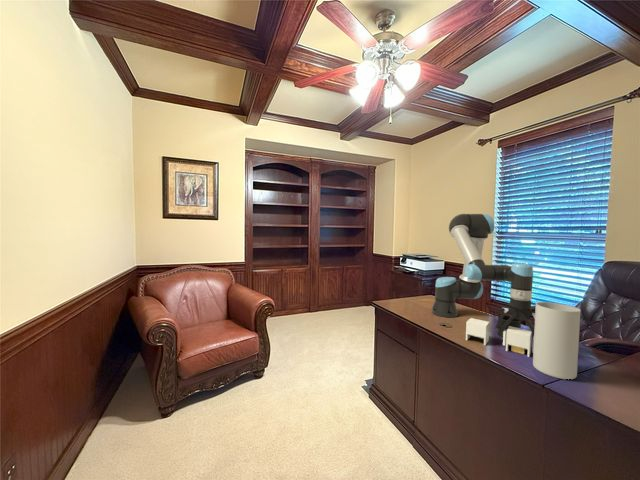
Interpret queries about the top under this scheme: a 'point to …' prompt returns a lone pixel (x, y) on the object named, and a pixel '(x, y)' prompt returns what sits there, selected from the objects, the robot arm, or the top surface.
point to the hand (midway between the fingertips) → (518, 348)
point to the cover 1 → (477, 329)
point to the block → (518, 349)
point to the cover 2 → (518, 338)
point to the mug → (513, 323)
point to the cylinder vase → (556, 339)
